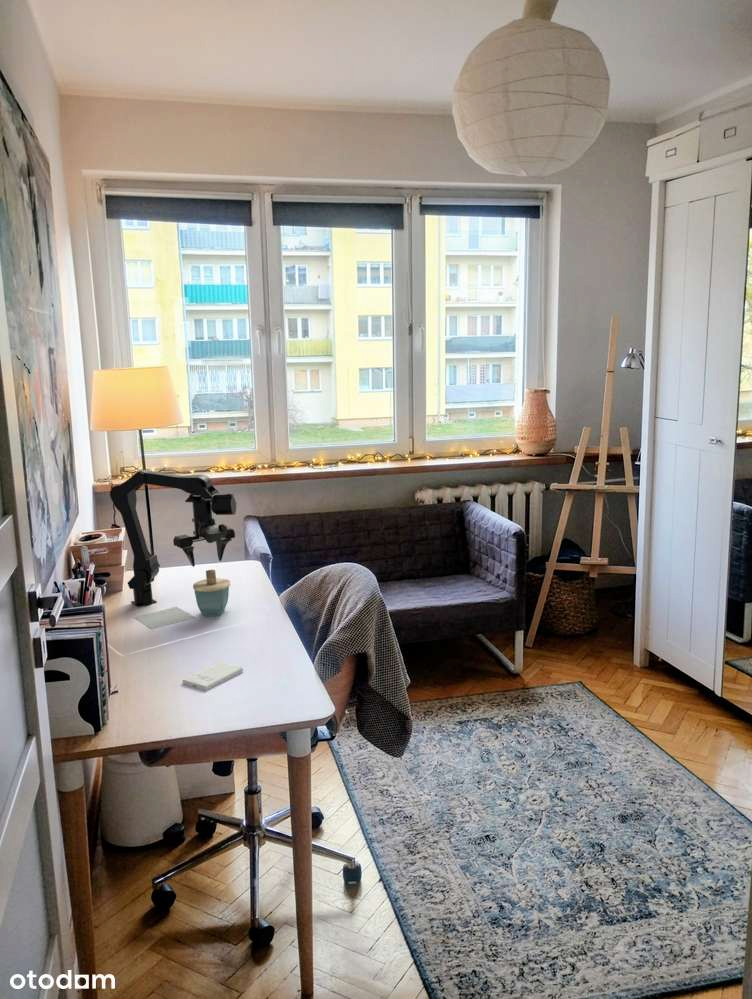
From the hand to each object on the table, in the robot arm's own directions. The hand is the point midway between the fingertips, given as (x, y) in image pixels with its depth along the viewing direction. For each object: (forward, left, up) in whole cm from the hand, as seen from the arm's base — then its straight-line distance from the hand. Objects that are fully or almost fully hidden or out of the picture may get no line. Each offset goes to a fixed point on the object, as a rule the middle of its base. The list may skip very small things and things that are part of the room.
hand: (206, 563), depth 246 cm
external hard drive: (+54, -26, -14) cm, 62 cm away
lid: (+11, -4, -4) cm, 12 cm away
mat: (+4, -17, -13) cm, 22 cm away
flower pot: (+11, -4, -13) cm, 18 cm away
